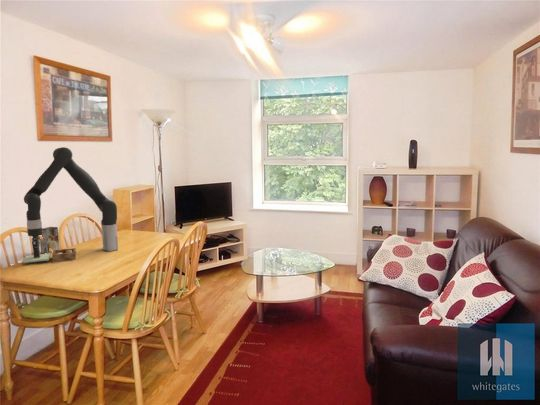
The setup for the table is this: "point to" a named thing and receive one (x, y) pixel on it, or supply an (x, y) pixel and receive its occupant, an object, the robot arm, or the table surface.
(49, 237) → the coffee box
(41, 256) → the lid
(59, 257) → the box
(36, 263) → the mat
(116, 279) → the table surface
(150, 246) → the table surface
